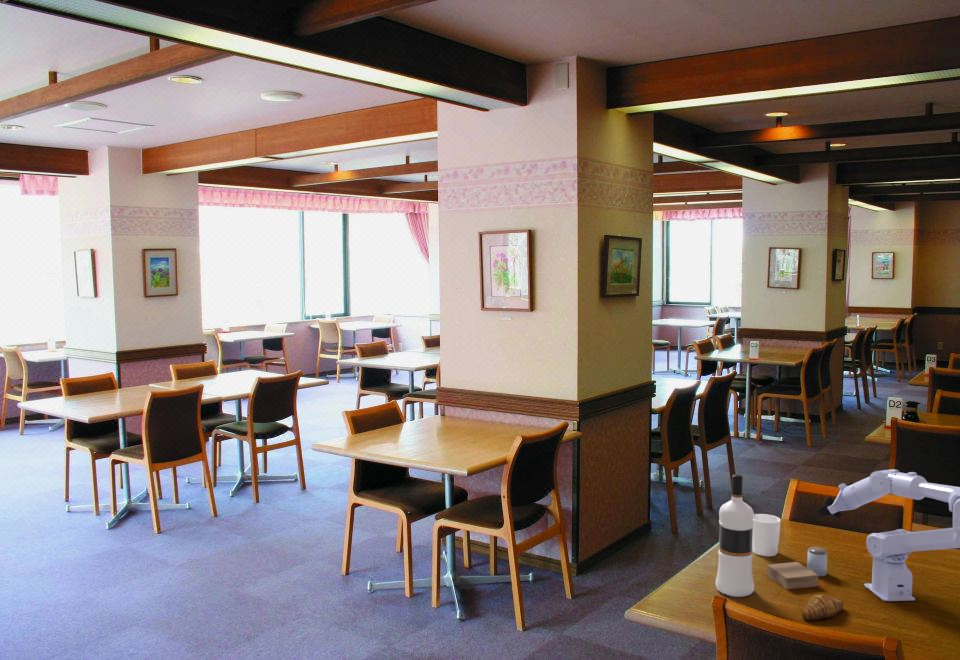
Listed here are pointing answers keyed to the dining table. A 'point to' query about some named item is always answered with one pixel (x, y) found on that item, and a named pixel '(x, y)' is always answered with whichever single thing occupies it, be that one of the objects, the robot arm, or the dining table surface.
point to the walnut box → (792, 575)
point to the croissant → (821, 607)
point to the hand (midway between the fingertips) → (828, 507)
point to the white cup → (765, 534)
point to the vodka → (735, 544)
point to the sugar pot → (817, 560)
